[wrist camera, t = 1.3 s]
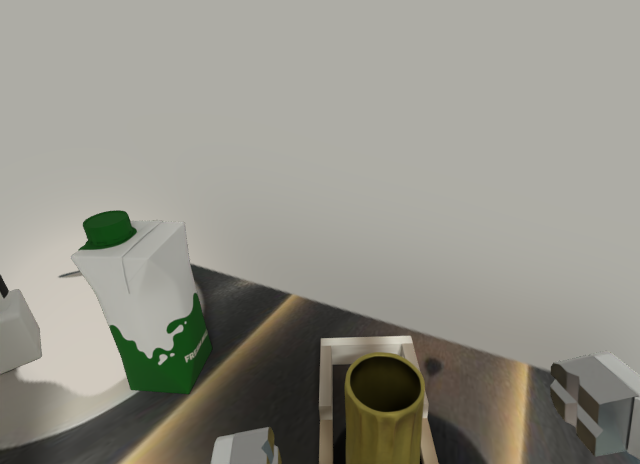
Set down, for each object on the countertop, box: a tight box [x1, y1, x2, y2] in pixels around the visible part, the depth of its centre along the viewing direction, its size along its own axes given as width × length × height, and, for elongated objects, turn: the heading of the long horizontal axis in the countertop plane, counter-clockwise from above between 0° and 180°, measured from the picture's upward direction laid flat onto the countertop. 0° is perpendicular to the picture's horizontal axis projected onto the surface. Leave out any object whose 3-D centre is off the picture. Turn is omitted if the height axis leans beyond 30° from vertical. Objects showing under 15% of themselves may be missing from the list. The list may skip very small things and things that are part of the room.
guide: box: [319, 336, 439, 464], centre depth 37 cm, size 10×20×3 cm, turn 179°
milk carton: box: [71, 211, 212, 394], centre depth 42 cm, size 9×9×20 cm
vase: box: [344, 352, 425, 464], centre depth 29 cm, size 6×6×14 cm
